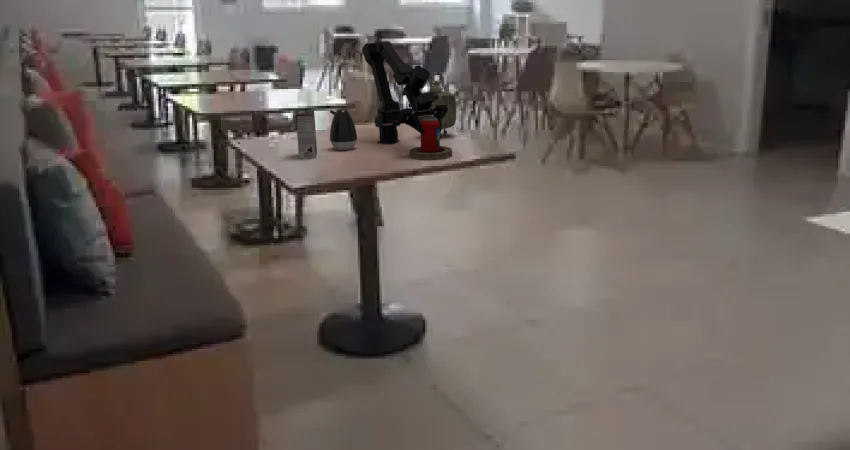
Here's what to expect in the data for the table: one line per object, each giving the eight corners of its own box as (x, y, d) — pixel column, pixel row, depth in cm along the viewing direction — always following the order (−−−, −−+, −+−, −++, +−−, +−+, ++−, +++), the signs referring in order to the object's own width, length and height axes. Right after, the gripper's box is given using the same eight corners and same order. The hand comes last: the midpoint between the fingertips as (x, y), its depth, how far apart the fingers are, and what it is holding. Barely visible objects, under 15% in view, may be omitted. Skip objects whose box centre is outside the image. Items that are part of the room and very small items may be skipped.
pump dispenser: (339, 145, 315) (337, 105, 311) (362, 147, 311) (360, 107, 306) (324, 150, 307) (322, 109, 302) (348, 152, 302) (345, 111, 298)
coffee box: (299, 153, 302) (296, 110, 297) (317, 153, 302) (314, 109, 298) (298, 159, 293) (295, 114, 289) (316, 158, 294) (313, 113, 289)
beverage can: (442, 152, 292) (442, 119, 288) (425, 154, 289) (424, 120, 285) (435, 149, 297) (434, 116, 294) (417, 151, 295) (417, 117, 291)
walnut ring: (401, 157, 291) (401, 152, 291) (424, 149, 303) (424, 144, 303) (437, 161, 284) (437, 155, 283) (459, 153, 296) (459, 147, 295)
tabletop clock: (446, 133, 334) (445, 71, 327) (459, 136, 327) (458, 73, 319) (416, 137, 327) (414, 74, 320) (427, 141, 319) (426, 76, 312)
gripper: (400, 85, 285) (417, 122, 279) (445, 81, 294) (462, 116, 288) (390, 105, 294) (406, 141, 288) (434, 100, 303) (451, 134, 297)
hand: (432, 132), depth 290 cm, fingers closed on beverage can, 7 cm apart
